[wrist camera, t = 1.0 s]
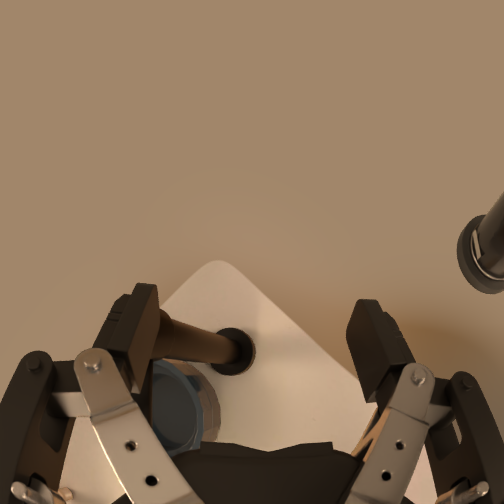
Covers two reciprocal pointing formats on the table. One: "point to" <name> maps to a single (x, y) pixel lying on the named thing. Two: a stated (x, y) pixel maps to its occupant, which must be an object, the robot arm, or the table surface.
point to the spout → (159, 352)
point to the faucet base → (213, 348)
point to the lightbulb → (65, 493)
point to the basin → (183, 407)
